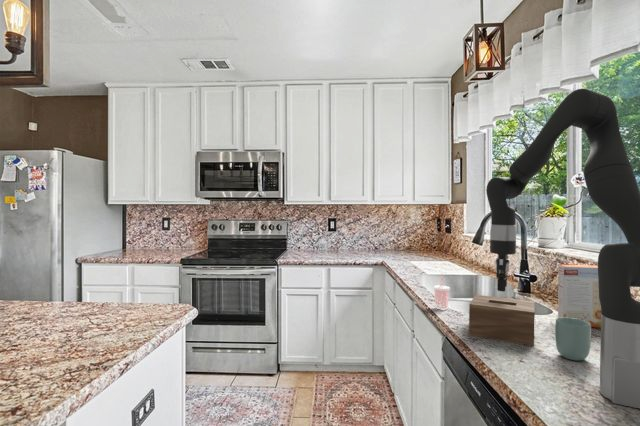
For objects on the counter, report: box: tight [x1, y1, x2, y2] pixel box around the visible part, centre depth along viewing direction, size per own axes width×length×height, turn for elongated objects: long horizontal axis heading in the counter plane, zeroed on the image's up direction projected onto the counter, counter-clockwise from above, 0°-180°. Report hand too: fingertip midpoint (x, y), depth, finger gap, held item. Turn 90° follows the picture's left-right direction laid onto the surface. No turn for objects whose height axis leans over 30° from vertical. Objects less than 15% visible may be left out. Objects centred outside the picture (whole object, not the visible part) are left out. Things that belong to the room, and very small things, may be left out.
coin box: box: [468, 294, 536, 347], centre depth 120 cm, size 15×18×10 cm
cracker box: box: [557, 264, 601, 329], centre depth 129 cm, size 14×6×21 cm, turn 76°
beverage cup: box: [433, 273, 451, 310], centre depth 148 cm, size 6×6×14 cm
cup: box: [554, 317, 592, 362], centre depth 100 cm, size 8×8×10 cm
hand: (502, 288), depth 119 cm, fingers open, 8 cm apart
